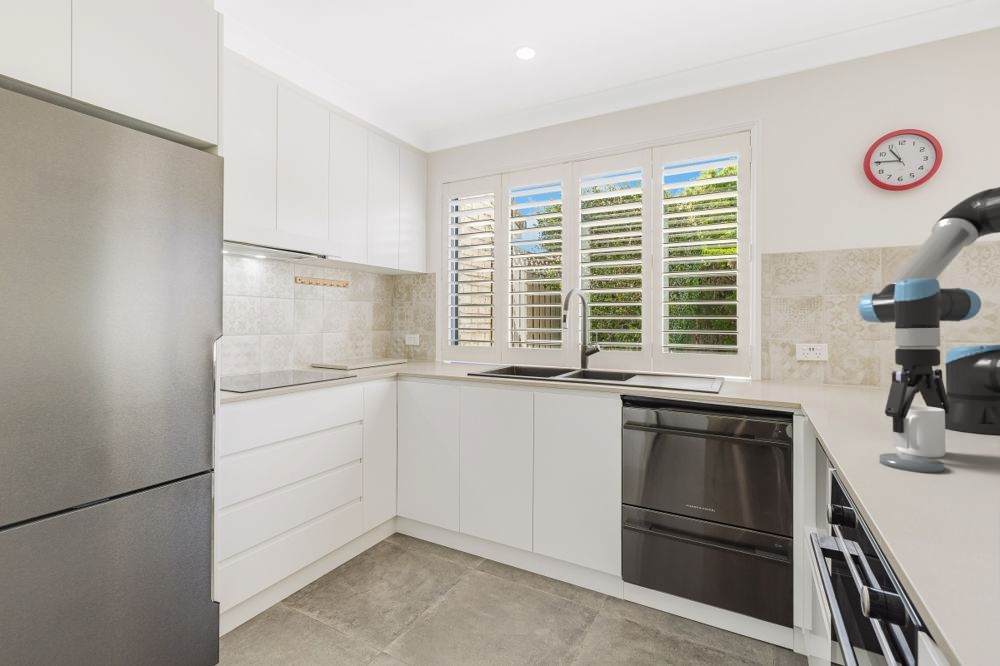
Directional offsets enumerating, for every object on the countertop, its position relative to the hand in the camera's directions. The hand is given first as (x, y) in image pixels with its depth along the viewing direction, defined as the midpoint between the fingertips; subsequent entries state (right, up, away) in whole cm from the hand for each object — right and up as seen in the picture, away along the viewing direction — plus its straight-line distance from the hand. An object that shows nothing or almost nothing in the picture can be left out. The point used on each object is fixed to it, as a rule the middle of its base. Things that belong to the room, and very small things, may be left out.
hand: (918, 444), depth 104 cm
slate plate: (-9, -2, -8) cm, 12 cm away
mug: (0, -3, 0) cm, 3 cm away
